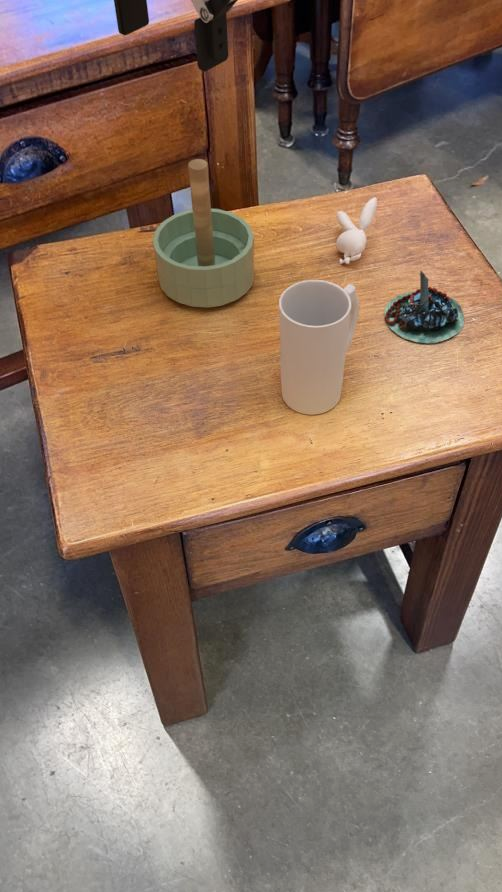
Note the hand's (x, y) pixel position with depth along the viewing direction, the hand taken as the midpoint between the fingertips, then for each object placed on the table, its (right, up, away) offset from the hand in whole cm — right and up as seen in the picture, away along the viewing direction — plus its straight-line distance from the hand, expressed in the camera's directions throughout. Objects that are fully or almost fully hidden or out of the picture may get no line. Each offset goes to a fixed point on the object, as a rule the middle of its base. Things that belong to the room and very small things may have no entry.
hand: (172, 46), depth 72 cm
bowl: (+1, -13, +25) cm, 29 cm away
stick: (+1, -13, +25) cm, 28 cm away
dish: (+26, -19, +22) cm, 38 cm away
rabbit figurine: (+18, -8, +29) cm, 36 cm away
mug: (+14, -27, +15) cm, 34 cm away
